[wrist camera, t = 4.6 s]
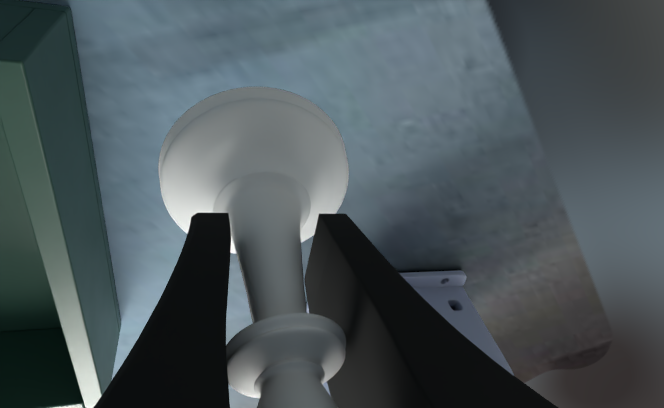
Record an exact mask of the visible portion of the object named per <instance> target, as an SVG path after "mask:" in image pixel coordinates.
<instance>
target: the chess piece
mask: <svg viewBox="0 0 664 408" xmlns="http://www.w3.org/2000/svg"><path fill="white" fill-rule="evenodd" d="M158 169H159V179H160V188H161V194H162V198H163V201H164V204H165V206H166V208H167V210H168V212H169V214H170V215H171V217H172V218H173V220H174V221H175V222H176V224H177V225H178V226H179V227H180V228H181V229H182V230H183V231H184V232H186V233H187V234H188V231H189V227H190V222H191V217H192V216H193V215H195V214H196V213H228V214H229V221H230V229H231V251H230V253H235V254H237V257H238V261H239V265H240V269H241V272H242V276H243V281H244V285H245V289H246V292H247V297H248V302H249V308H250V312H251V317H252V322H253V324H251V325H249V326H248V327H246V328H244V329H243V330H241V331H240V332H239V333H237V334H236V335H235V336H234V337H233V338H232V339H231V340H230V341H229V342H228V344H227V345H226V357H227V373H228V383H229V385H230V386H231V387H232V388H233V389H235V390H236V391H237V392H239V393H241V394H244V395H246V396H249V397H254V398H260V399H259V403H258V406H257V408H338V407H337V405H336V404H335V402H334V401H333V399H332V398H331V396H330V395H329V393H328V392H327V390H326V389H325V387H324V386H323V384H324V383H325V382H327V381H328V380H329V379H331V378H332V377H333V376H334V375H335V374H336V373H337V372H338V371H339V369H340V368H341V366H342V365H343V363H344V360H345V355H346V351H345V348H346V337H345V334H344V332H343V330H342V328H341V327H340V326H339V325H338V324H337V323H335V322H334V321H332V320H331V319H328V318H326V317H323V316H320V315H316V314H310V313H307V312H306V301H305V292H304V282H303V267H302V252H301V242H303V241H305V240H307V239H308V238H310V237H312V236H313V235H314V234H315V229H316V225H317V220H318V216H319V214H336V212H337V211H338V209H339V207H340V206H341V204H342V202H343V199H344V197H345V194H346V191H347V187H348V180H349V166H348V160H347V156H346V149H345V145H344V142H343V139H342V136H341V134H340V132H339V130H338V128H337V127H336V125H335V124H334V122H333V121H332V120H331V119H330V117H329V116H328V115H327V114H326V113H325V112H324V111H323V110H322V109H320V108H319V107H318V106H317V105H315V104H314V103H312V102H311V101H309V100H307V99H305V98H303V97H301V96H299V95H297V94H294V93H292V92H288V91H285V90H281V89H276V88H270V87H243V88H236V89H231V90H227V91H223V92H220V93H217V94H215V95H212V96H210V97H208V98H206V99H204V100H202V101H200V102H199V103H197V104H196V105H194V106H193V107H191V108H190V109H189V110H187V111H186V112H185V113H184V114H183V115H182V116H181V117H180V118H179V119H178V120H177V121H176V122H175V124H174V125H173V126H172V128H171V129H170V131H169V132H168V134H167V136H166V138H165V140H164V142H163V145H162V148H161V152H160V156H159V167H158Z"/></svg>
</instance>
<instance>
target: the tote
mask: <svg viewBox="0 0 664 408" xmlns="http://www.w3.org/2000/svg"><path fill="white" fill-rule="evenodd" d="M120 328H121V319H120V313H119V307H118V301H117V295H116V288H115V282H114V276H113V270H112V263H111V257H110V251H109V245H108V239H107V232H106V226H105V220H104V214H103V207H102V201H101V195H100V189H99V183H98V176H97V170H96V164H95V158H94V151H93V145H92V139H91V133H90V127H89V120H88V114H87V108H86V102H85V95H84V89H83V83H82V77H81V71H80V64H79V58H78V52H77V46H76V39H75V33H74V27H73V21H72V15H71V9H70V7H67V6H59V5H51V4H43V3H36V2H28V1H20V0H0V408H93V407H94V406H95V405H96V403H97V402H98V400H99V399H100V398H101V396H102V395H103V393H104V392H105V390H106V389H107V387H108V386H109V384H110V383H111V379H112V373H113V368H114V362H115V356H116V351H117V345H118V339H119V332H120Z"/></svg>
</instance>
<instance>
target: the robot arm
mask: <svg viewBox="0 0 664 408" xmlns="http://www.w3.org/2000/svg"><path fill="white" fill-rule="evenodd" d="M230 251H231V229H230V221H229V214H228V213H196V214H195V215H193V216H192V217H191V222H190V227H189V231H188V235H187V238H186V241H185V244H184V247H183V249H182V252H181V254H180V257H179V259H178V262H177V264H176V266H175V268H174V271H173V273H172V275H171V277H170V279H169V281H168V284H167V286H166V288H165V290H164V292H163V294H162V296H161V298H160V300H159V302H158V304H157V306H156V307H155V309H154V311H153V313H152V315H151V316H150V318H149V320H148V322H147V324H146V325H145V327H144V329H143V331H142V333H141V335H140V336H139V338H138V340H137V341H136V343H135V345H134V346H133V348H132V350H131V351H130V353H129V355H128V356H127V358H126V359H125V361H124V363H123V364H122V366H121V367H120V369H119V370H118V372H117V373H116V375H115V377H114V378H113V380H112V381H111V383H110V384H109V386H108V387H107V389H106V390H105V392H104V393H103V395H102V396H101V398H100V399H99V400H98V402H97V403H96V405H95V406H94V407H93V408H230V404H229V389H228V373H227V357H226V311H227V296H228V281H229V266H230ZM466 279H467V276H466V274H465V273H464V272H463V271H460V270H458V271H433V272H408V273H398V272H397V271H396V269H395V268H394V267H393V266H392V265H391V264H390V263H389V262H388V261H387V260H386V259H385V257H384V256H383V255H382V254H381V253H380V252H379V251H378V250H377V249H376V247H375V246H374V245H373V244H372V243H371V242H370V241H369V240H368V238H367V237H366V236H365V235H364V234H363V233H362V232H361V230H360V229H359V228H358V227H357V226H356V225H355V224H354V222H353V221H352V220H351V219H350V218H349V217H348V216H347V215H346V214H319V216H318V220H317V225H316V229H315V234H314V238H313V243H312V247H311V252H310V256H309V261H308V265H307V270H306V274H305V286H306V294H307V302H308V303H307V307H306V312H307V313H310V314H316V315H320V316H323V317H326V318H328V319H331V320H332V321H334V322H335V323H337V324H338V325H339V326H340V327H341V328H342V330H343V332H344V334H345V337H346V348H345V351H346V355H345V360H344V363H343V365H342V366H341V368H340V369H339V371H338V372H337V373H336V374H335V375H334V376H333V377H332V378H331V379H329V380H328V381H327V382H325V383H324V384H323V386H324V387H325V389H326V390H327V392H328V393H329V395H330V396H331V398H332V399H333V401H334V402H335V404H336V405H337V407H338V408H558V407H556V406H555V405H553V404H552V403H551V402H549V401H548V400H546V399H545V398H544V397H542V396H541V395H540V394H538V393H537V392H535V391H534V390H533V389H531V388H530V387H529V386H527V385H526V384H524V383H523V382H522V381H520V380H519V379H518V378H516V377H515V376H514V374H513V372H512V370H511V368H510V366H509V364H508V363H507V361H506V359H505V358H504V356H503V354H502V352H501V351H500V349H499V347H498V346H497V344H496V342H495V341H494V339H493V337H492V336H491V334H490V332H489V331H488V329H487V327H486V325H485V324H484V322H483V320H482V319H481V317H480V315H479V314H478V312H477V310H476V309H475V307H474V305H473V304H472V302H471V300H470V299H469V297H468V295H467V293H466V292H465V290H464V288H463V287H462V286H463V285H464V283H465V281H466Z"/></svg>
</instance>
